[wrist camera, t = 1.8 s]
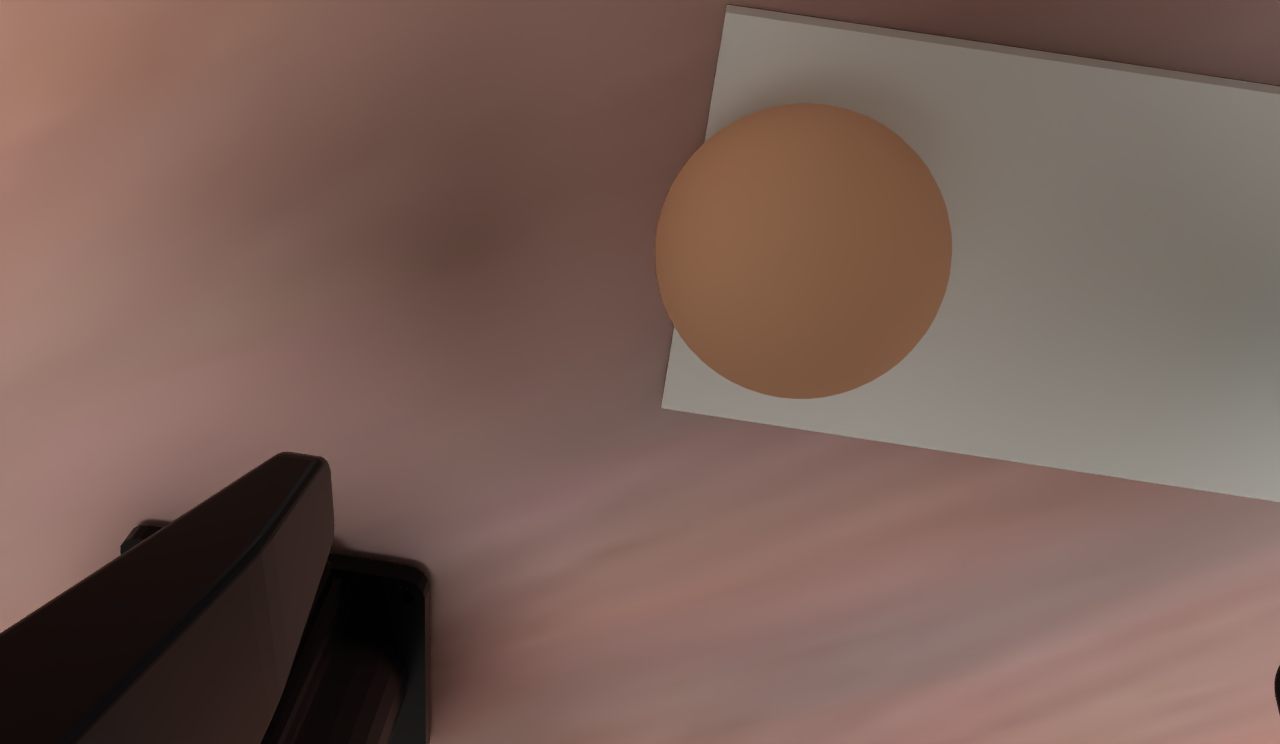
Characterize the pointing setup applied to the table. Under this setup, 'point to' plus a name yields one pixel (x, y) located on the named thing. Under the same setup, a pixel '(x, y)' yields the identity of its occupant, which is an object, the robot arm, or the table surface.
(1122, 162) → the mat
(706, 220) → the terracotta ball
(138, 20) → the table surface
